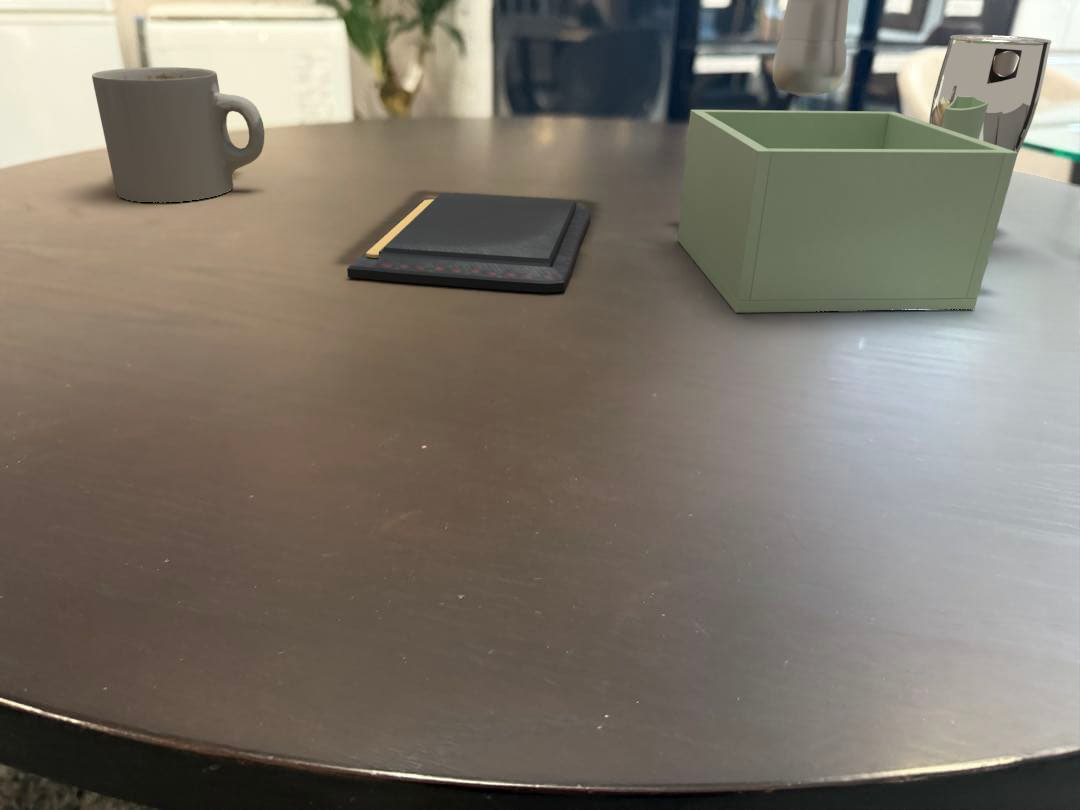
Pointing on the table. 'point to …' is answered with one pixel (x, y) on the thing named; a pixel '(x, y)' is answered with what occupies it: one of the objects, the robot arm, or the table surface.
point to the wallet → (480, 244)
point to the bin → (839, 210)
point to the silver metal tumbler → (990, 87)
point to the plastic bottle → (811, 47)
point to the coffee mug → (172, 133)
